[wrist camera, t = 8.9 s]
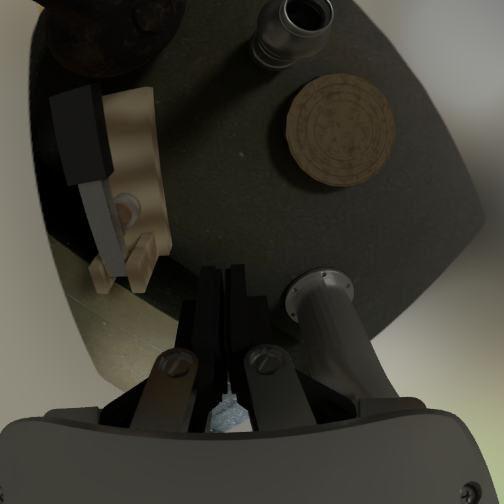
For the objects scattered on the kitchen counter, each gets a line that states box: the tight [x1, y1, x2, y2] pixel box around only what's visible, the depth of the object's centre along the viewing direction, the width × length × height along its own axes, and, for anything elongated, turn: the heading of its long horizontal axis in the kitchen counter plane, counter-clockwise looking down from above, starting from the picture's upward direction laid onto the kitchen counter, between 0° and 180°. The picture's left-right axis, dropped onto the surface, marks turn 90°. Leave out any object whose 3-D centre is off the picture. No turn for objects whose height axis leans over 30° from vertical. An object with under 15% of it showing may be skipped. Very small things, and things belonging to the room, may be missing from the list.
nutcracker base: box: [88, 87, 172, 294], centre depth 34 cm, size 24×10×12 cm, turn 2°
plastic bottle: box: [249, 0, 334, 71], centre depth 23 cm, size 6×7×20 cm
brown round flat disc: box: [283, 73, 396, 187], centre depth 37 cm, size 16×16×3 cm
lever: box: [49, 82, 130, 277], centre depth 29 cm, size 23×5×3 cm, turn 2°
